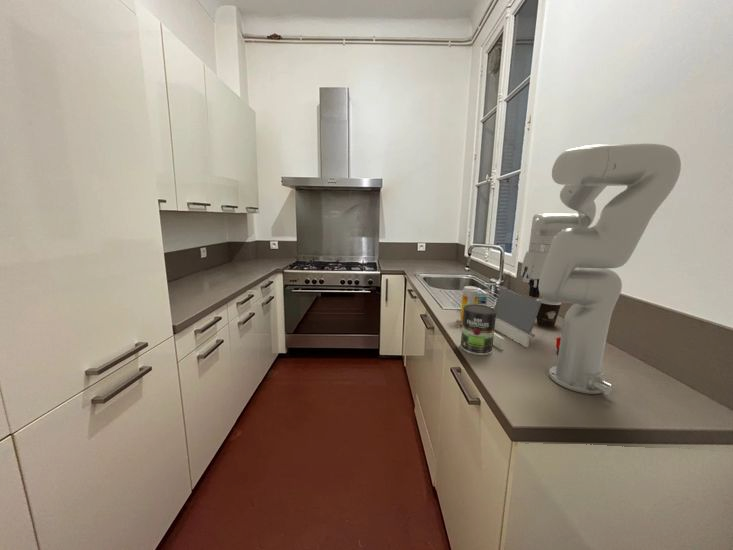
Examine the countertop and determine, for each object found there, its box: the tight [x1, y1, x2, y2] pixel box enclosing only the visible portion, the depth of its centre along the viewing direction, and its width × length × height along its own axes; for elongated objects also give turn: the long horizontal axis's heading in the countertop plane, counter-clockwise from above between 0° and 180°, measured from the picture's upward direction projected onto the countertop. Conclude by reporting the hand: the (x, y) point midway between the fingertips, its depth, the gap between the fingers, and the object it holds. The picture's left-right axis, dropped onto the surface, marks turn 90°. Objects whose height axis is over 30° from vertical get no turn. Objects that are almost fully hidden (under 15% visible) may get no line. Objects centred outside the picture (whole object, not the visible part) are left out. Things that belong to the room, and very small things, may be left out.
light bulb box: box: [477, 287, 489, 306], centre depth 136 cm, size 11×7×11 cm, turn 179°
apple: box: [555, 336, 561, 351], centre depth 97 cm, size 7×7×8 cm
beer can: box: [460, 285, 479, 322], centre depth 122 cm, size 6×6×15 cm
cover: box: [493, 287, 542, 336], centre depth 109 cm, size 20×12×1 cm
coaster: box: [456, 318, 463, 326], centre depth 124 cm, size 9×9×1 cm
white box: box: [493, 318, 536, 351], centre depth 109 cm, size 23×12×5 cm, turn 13°
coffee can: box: [459, 304, 497, 356], centre depth 98 cm, size 10×10×14 cm
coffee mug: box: [536, 298, 562, 328], centre depth 123 cm, size 12×9×10 cm
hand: (533, 296), depth 111 cm, fingers closed
